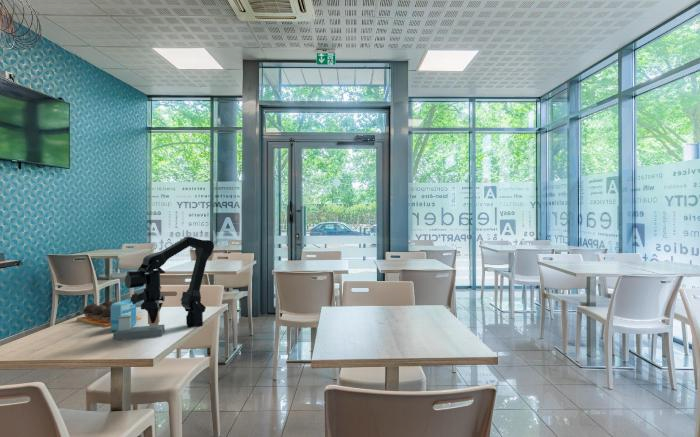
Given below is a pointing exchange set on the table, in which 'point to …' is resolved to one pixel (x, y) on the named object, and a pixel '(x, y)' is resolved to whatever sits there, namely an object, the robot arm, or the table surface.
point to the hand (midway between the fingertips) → (153, 321)
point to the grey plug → (124, 322)
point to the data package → (122, 313)
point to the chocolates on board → (99, 314)
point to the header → (139, 332)
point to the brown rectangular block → (155, 325)
